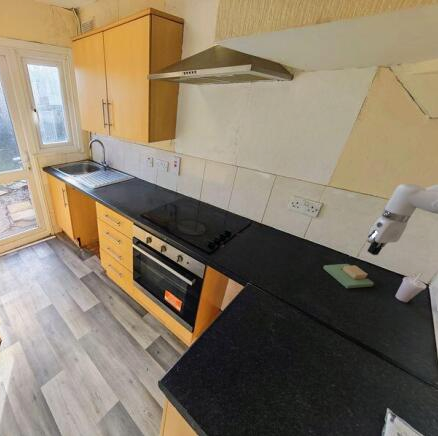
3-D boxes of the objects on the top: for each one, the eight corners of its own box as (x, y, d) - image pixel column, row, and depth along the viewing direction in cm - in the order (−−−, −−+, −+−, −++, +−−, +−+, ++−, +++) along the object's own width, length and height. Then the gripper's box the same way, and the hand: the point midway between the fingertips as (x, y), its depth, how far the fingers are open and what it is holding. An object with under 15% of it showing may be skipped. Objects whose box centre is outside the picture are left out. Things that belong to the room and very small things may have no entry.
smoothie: (408, 297, 96) (430, 272, 89) (414, 307, 91) (437, 282, 84) (388, 290, 99) (408, 266, 92) (392, 300, 94) (413, 275, 87)
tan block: (351, 271, 109) (355, 265, 107) (363, 280, 103) (367, 274, 101) (340, 272, 108) (344, 266, 106) (351, 281, 103) (356, 275, 101)
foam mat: (346, 266, 112) (348, 263, 111) (372, 286, 100) (374, 283, 99) (322, 268, 110) (324, 265, 109) (346, 288, 99) (348, 285, 98)
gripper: (388, 221, 84) (365, 260, 93) (422, 219, 86) (396, 257, 95) (369, 212, 91) (348, 249, 100) (401, 210, 93) (378, 247, 101)
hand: (372, 253), depth 97 cm, fingers closed
